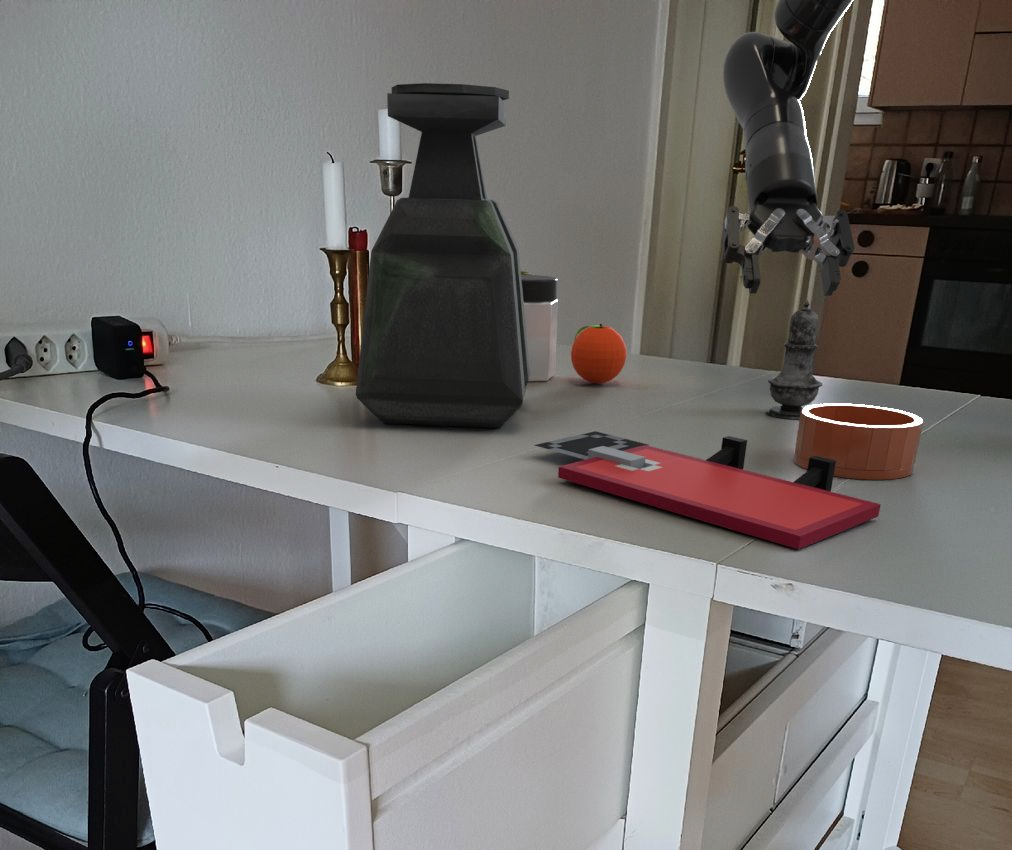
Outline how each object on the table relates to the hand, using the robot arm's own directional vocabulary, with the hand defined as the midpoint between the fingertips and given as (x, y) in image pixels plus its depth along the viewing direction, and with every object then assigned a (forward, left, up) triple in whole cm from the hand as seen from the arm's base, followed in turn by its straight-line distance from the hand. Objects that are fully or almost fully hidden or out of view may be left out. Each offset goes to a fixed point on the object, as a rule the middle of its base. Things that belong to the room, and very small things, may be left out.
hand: (793, 289), depth 113 cm
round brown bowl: (+1, +29, -13) cm, 31 cm away
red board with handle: (+18, +38, -13) cm, 44 cm away
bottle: (+38, +10, -13) cm, 41 cm away
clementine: (+20, -12, -13) cm, 27 cm away
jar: (+29, -15, -13) cm, 35 cm away
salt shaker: (0, +6, -13) cm, 14 cm away
